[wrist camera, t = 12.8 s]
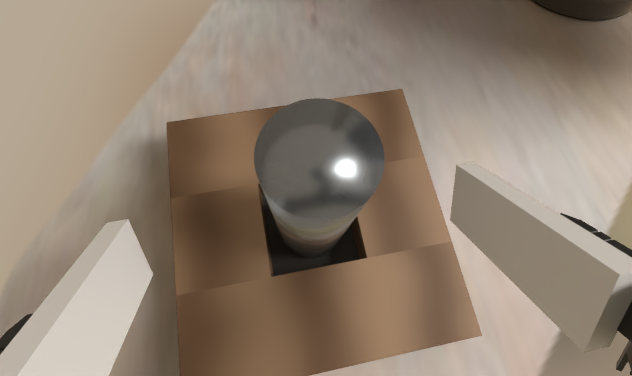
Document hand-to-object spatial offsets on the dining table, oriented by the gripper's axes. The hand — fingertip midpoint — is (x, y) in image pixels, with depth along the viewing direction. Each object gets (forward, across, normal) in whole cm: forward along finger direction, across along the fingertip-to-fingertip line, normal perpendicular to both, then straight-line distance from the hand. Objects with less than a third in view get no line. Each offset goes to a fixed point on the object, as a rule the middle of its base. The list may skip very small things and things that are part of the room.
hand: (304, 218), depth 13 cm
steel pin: (+7, +1, -5) cm, 8 cm away
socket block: (+7, +1, -6) cm, 9 cm away
